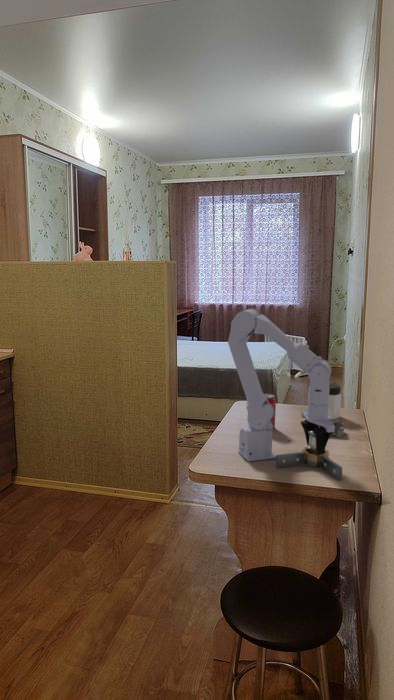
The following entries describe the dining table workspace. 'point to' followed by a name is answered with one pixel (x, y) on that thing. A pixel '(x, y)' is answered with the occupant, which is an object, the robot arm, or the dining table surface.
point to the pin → (312, 443)
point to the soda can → (272, 401)
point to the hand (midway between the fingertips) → (315, 448)
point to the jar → (334, 401)
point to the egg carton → (338, 428)
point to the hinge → (310, 462)
